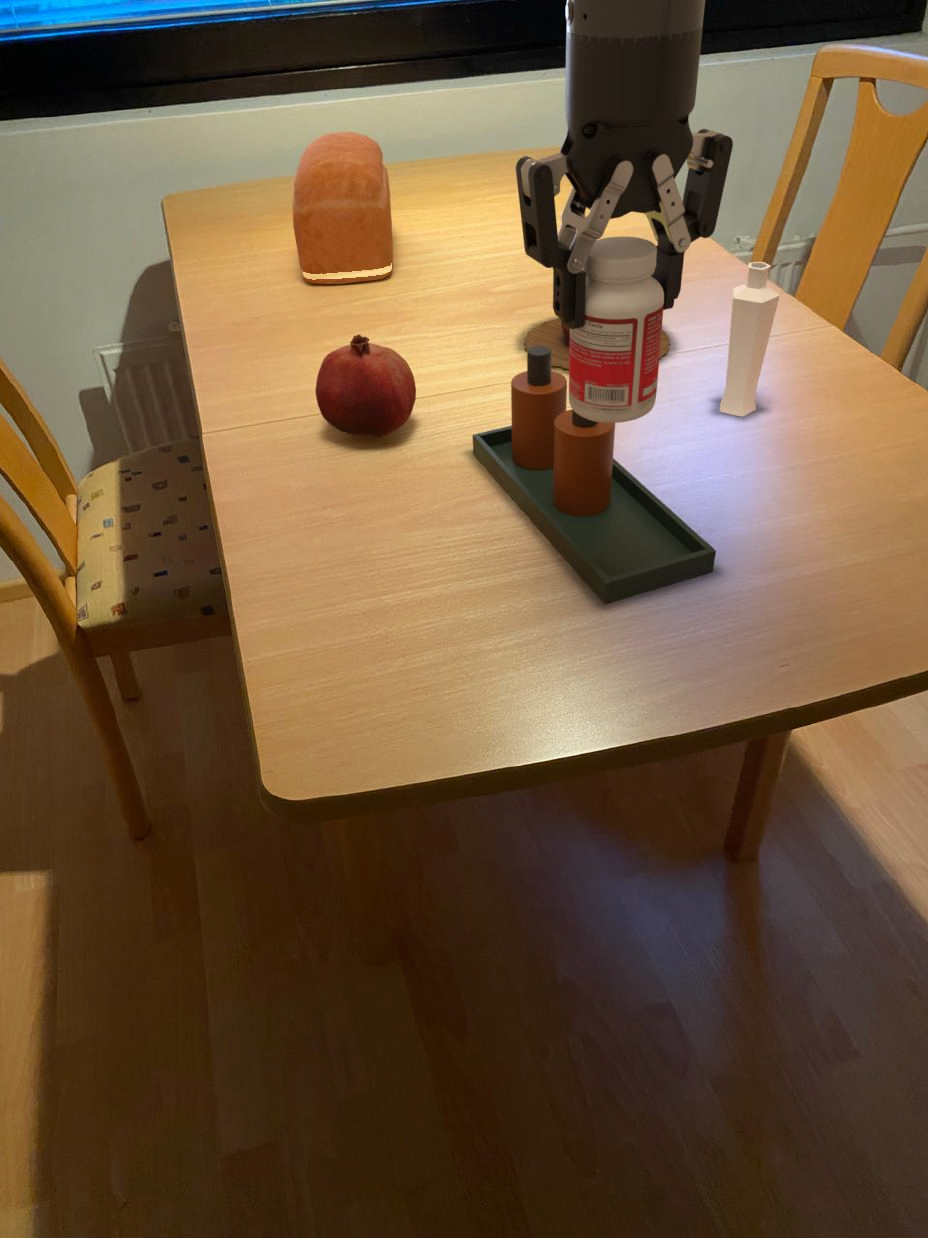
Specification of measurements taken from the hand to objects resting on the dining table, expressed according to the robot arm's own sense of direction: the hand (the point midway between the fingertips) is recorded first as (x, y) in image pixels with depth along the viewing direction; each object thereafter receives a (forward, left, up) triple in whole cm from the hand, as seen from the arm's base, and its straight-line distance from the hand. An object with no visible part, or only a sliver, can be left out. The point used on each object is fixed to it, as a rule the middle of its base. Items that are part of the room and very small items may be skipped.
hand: (616, 314), depth 62 cm
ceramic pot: (-23, -43, -23) cm, 54 cm away
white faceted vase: (-28, -21, -23) cm, 42 cm away
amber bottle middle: (-4, -11, -22) cm, 25 cm away
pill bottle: (0, 0, -7) cm, 7 cm away
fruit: (+9, -34, -23) cm, 42 cm away
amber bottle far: (-4, -20, -22) cm, 30 cm away
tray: (-4, -11, -23) cm, 25 cm away
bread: (-6, -90, -23) cm, 93 cm away
